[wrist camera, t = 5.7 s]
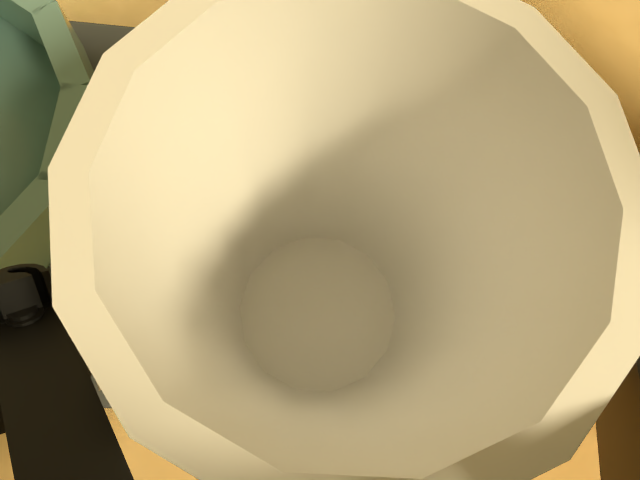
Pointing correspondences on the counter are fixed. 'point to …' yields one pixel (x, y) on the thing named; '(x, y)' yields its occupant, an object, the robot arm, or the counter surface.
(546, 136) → the foam cup
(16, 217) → the bowl
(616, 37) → the counter surface
